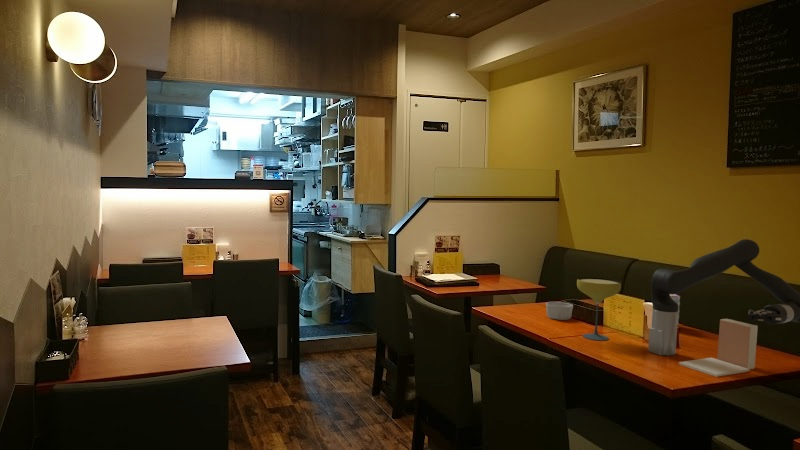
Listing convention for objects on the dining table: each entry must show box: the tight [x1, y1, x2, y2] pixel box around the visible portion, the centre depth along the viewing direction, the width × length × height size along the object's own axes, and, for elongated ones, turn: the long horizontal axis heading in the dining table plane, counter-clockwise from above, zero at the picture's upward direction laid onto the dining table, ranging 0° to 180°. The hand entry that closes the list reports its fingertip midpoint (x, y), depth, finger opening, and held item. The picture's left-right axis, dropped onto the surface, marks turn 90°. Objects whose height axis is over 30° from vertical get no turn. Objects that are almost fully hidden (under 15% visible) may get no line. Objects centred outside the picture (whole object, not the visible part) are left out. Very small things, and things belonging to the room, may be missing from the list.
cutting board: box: [678, 357, 750, 378], centre depth 211 cm, size 18×15×1 cm
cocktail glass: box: [576, 276, 622, 342], centre depth 249 cm, size 18×18×25 cm
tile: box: [716, 318, 759, 370], centre depth 216 cm, size 4×12×16 cm, turn 26°
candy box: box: [670, 294, 681, 326], centre depth 273 cm, size 14×6×16 cm, turn 168°
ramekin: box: [545, 301, 574, 321], centre depth 286 cm, size 13×13×7 cm
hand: (750, 317), depth 218 cm, fingers closed
